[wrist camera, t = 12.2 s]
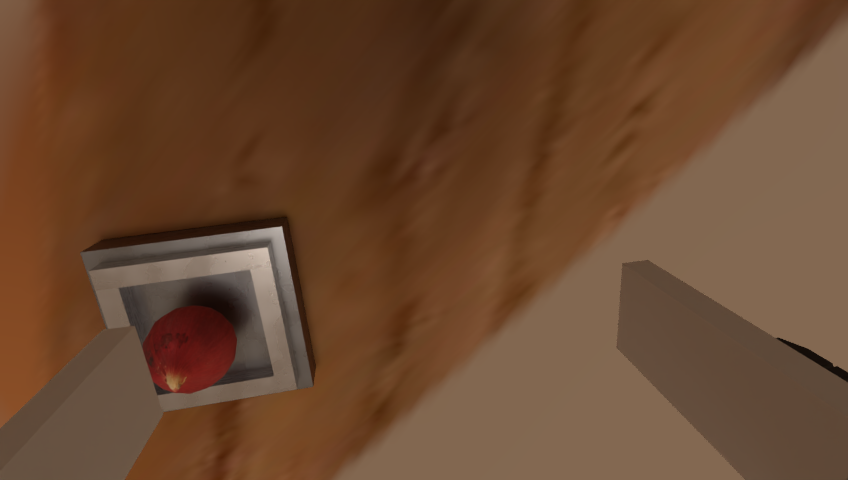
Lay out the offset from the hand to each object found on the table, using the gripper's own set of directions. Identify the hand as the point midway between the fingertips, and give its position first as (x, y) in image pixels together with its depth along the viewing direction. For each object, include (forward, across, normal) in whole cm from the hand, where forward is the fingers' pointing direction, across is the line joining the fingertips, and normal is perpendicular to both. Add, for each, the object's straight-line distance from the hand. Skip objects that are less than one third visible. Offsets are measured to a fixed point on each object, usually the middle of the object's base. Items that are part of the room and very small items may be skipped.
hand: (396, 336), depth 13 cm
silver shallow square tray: (+26, -14, -10) cm, 31 cm away
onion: (+23, -14, -10) cm, 28 cm away
